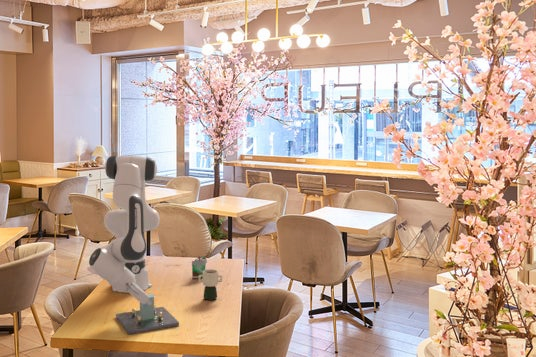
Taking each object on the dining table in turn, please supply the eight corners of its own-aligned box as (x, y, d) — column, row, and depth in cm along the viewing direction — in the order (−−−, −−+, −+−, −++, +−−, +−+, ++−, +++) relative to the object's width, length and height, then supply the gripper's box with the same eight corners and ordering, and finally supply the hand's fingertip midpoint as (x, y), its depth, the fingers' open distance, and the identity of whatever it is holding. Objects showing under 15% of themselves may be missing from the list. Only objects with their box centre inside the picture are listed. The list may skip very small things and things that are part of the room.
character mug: (222, 296, 245) (222, 269, 244) (221, 301, 238) (222, 273, 237) (198, 296, 245) (199, 269, 243) (197, 301, 237) (198, 273, 236)
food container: (203, 281, 269) (203, 261, 268) (191, 280, 270) (191, 261, 269) (209, 274, 281) (209, 256, 280) (198, 273, 282) (198, 255, 281)
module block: (139, 316, 212) (139, 295, 212) (150, 314, 215) (150, 293, 214) (142, 320, 209) (142, 298, 208) (154, 318, 211) (154, 296, 210)
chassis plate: (116, 317, 216) (115, 306, 215) (163, 310, 225) (163, 299, 225) (128, 334, 198) (128, 323, 198) (178, 325, 208) (179, 314, 207)
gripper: (136, 281, 197) (161, 302, 203) (123, 268, 215) (146, 288, 221) (124, 294, 196) (150, 315, 201) (112, 280, 213) (136, 299, 219)
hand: (148, 301), depth 211 cm, fingers open, 5 cm apart
